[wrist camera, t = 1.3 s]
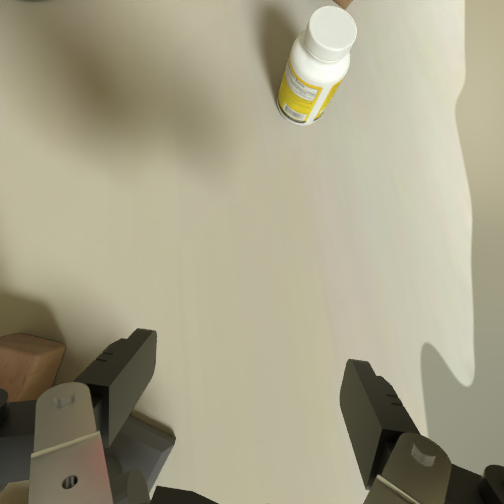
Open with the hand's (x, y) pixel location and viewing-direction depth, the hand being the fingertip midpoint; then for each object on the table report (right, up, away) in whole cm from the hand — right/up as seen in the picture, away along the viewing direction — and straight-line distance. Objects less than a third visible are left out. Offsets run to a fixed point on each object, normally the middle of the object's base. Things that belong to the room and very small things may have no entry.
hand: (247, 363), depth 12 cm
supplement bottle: (+5, +21, +21) cm, 30 cm away
